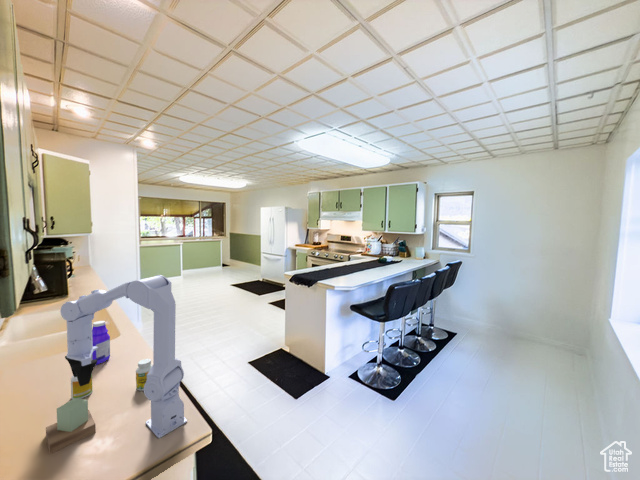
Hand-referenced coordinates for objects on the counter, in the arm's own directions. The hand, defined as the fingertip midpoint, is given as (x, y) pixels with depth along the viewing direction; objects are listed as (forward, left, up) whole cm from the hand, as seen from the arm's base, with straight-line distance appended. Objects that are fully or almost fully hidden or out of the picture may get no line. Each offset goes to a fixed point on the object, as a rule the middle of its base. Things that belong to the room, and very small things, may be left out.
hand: (81, 379), depth 80 cm
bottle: (+34, -12, -11) cm, 38 cm away
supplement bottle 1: (+11, -2, -11) cm, 15 cm away
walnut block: (-9, +4, -11) cm, 15 cm away
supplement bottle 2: (-1, -17, -11) cm, 20 cm away
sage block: (-9, +4, -8) cm, 13 cm away
